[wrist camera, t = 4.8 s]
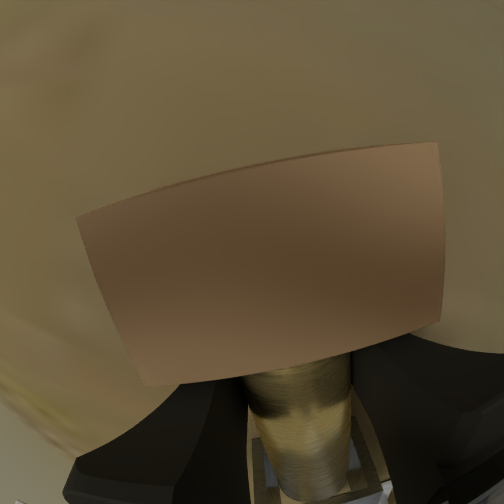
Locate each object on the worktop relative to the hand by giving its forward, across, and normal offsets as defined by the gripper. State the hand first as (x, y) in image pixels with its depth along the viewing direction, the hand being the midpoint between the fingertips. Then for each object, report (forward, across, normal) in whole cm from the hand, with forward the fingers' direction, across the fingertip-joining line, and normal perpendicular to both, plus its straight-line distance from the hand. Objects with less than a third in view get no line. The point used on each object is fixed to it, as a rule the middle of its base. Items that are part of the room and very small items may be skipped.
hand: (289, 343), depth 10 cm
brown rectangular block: (+1, 0, -4) cm, 4 cm away
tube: (+1, 0, +2) cm, 2 cm away
